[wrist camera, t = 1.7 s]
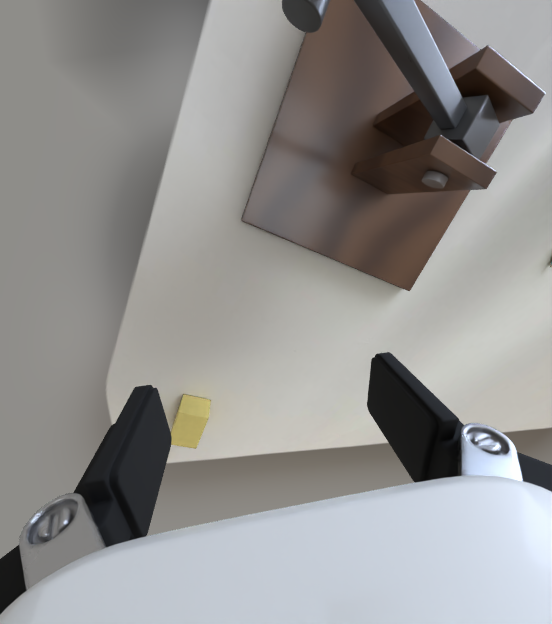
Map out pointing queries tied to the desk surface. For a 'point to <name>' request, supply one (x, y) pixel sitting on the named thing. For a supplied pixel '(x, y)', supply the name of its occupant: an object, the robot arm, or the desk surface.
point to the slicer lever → (415, 68)
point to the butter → (190, 421)
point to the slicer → (375, 147)
